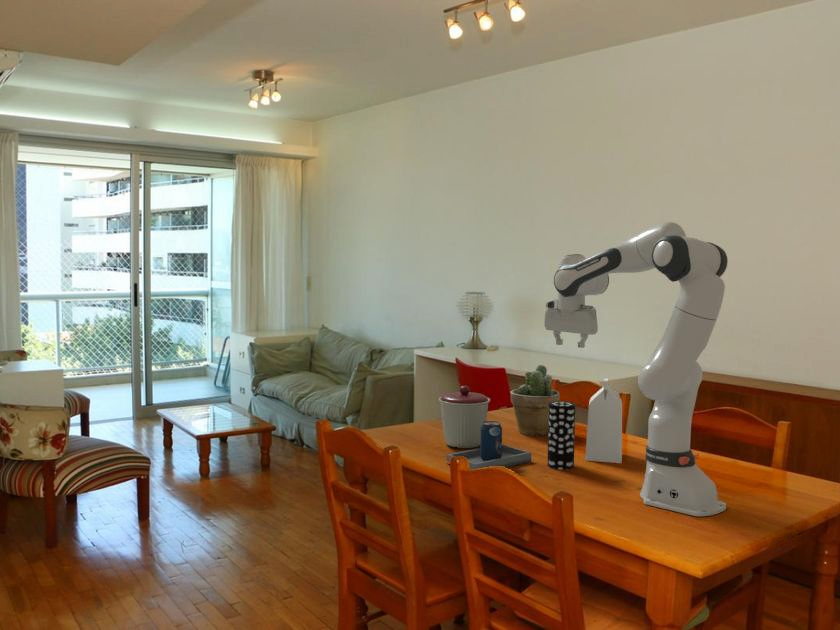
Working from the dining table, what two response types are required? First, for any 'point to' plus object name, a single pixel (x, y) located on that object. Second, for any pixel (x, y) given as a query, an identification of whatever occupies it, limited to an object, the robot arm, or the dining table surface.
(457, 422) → the canister
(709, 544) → the dining table surface
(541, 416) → the potted plant
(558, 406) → the white-spotted black cylinder
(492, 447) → the soda can
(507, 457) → the tray
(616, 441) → the milk
